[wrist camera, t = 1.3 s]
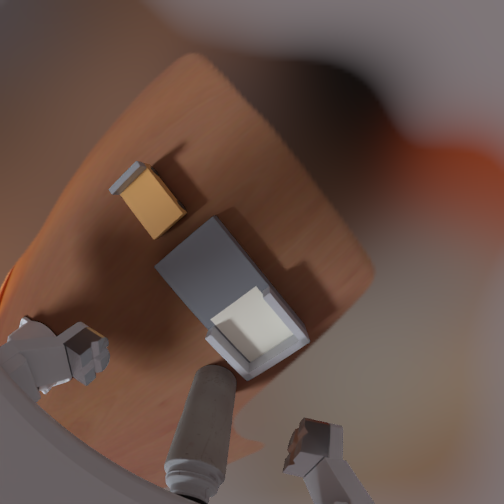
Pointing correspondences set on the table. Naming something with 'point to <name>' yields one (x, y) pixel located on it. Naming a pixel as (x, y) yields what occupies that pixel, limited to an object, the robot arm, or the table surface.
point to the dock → (233, 300)
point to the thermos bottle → (202, 436)
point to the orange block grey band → (149, 198)
